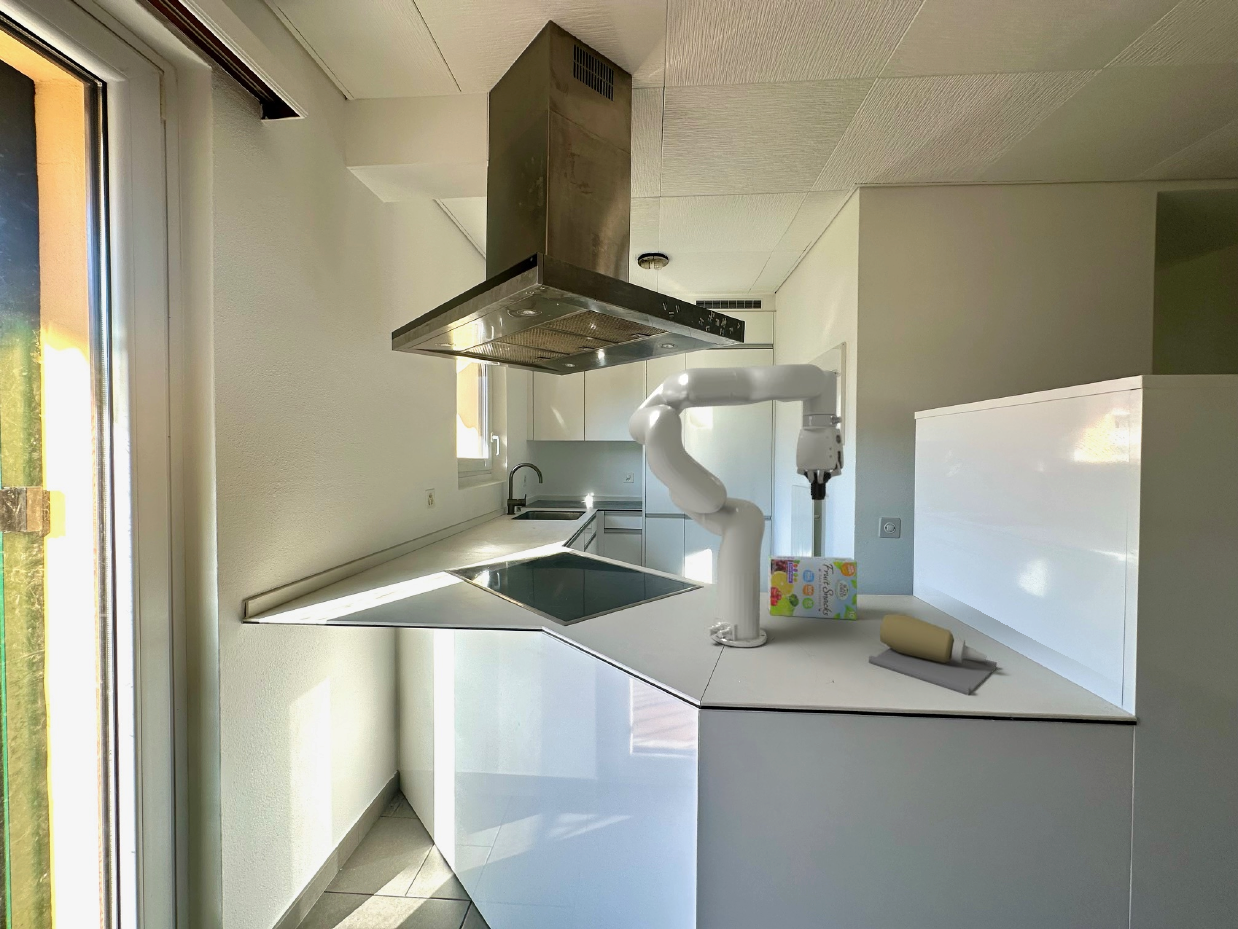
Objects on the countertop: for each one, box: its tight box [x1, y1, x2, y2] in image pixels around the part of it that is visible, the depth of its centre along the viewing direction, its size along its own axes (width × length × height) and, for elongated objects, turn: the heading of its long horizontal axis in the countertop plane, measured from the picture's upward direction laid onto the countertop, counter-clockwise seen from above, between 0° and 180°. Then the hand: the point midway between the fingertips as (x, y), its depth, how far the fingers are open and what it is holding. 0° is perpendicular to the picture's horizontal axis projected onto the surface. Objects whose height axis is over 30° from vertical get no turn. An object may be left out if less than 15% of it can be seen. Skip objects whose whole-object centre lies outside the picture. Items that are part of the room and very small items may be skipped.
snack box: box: [767, 554, 858, 621], centre depth 128 cm, size 21×6×15 cm, turn 80°
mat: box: [868, 647, 998, 696], centre depth 98 cm, size 17×17×1 cm
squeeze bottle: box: [879, 613, 987, 663], centre depth 100 cm, size 8×8×18 cm
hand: (818, 499), depth 118 cm, fingers closed
